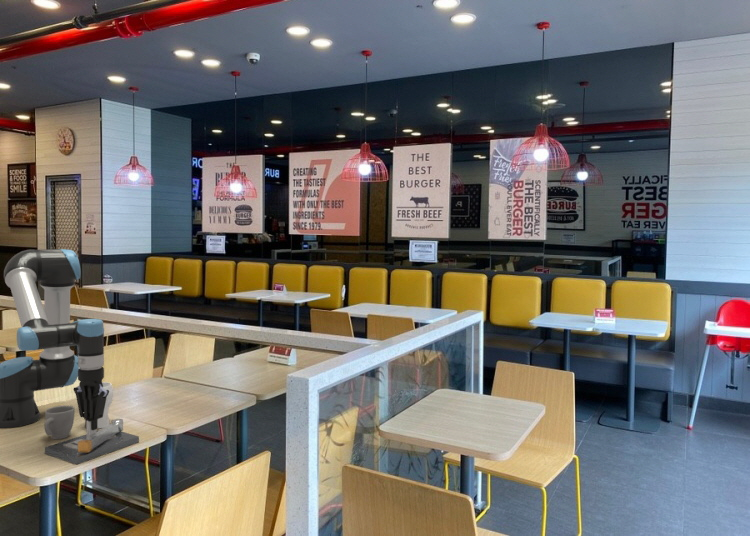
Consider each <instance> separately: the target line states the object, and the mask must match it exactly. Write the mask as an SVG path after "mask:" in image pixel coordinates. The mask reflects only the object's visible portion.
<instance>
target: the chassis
mask: <svg viewBox="0 0 750 536" xmlns="http://www.w3.org/2000/svg"><path fill="white" fill-rule="evenodd" d="M100 430H101V429H97V430H96V432H98V431H100ZM86 438H87V433H85V434H83V435H82V434H81V435H80V436H77V437H73V438H70V439H66V440H63V441H60V442H58V443H53V444H52V445H48V446H45V447H44V454H45V455H48V456H51V457H53V458H56V459H59V460H61V461H64V462H68V463H72V464H73V465H79V464H81V463H85V462H87V461H90V460H93V459H96V458H98V457H97V456H99V457H101V456H100V455H102V456H104V455H103V454H105V455H107V454H110V453H112V451H113V452H115V450H116V451H118V449H119V450H121V449H124V448H127V447H129V446H132V445H135V444H138V443H140V436H139V435H135V434H133V433H129V432H125V431H121V432H118V433H116V434H115V435H113V436H112V437H110V438H109V439H107V440H106V441H104V442H102V443H101V444H99V445H98V446H96V447H95V448H93V449H92V450H91V451H90V452H88V453H83V452H78V442H79V441H81V440H85V439H86ZM109 452H110V453H109ZM106 453H107V454H106ZM95 457H96V458H95ZM92 458H93V459H92Z"/></svg>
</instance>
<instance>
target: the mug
mask: <svg viewBox="0 0 750 536" xmlns="http://www.w3.org/2000/svg"><path fill="white" fill-rule="evenodd" d="M44 418H45V421H44V426H43V429H44V432H45V435H46V436H50V437H51V440H62V439H66V438H69V436H70V434H71V430H72V429H73V427H74V426H73V425H74V422H75V407H74V406H72V405H59V406H58V405H57V406H52V407H49V408H47V409H46V410H45V412H44Z"/></svg>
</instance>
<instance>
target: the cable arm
mask: <svg viewBox="0 0 750 536" xmlns="http://www.w3.org/2000/svg"><path fill="white" fill-rule="evenodd" d="M99 430H100V431H98V430H97V431H98V432H96V433H95V434H93V435H91V436H90V437H88V438H86V439H85V440H81V441H79V442H78V452H83V453H88V452H90V451H91V450H92V449H93V448H95V447H96V446H98V445H99V444H101V443H102V442H104V441H106V440H107V439H109V438H110V437H112V436H113V435H115V434H116V433H118V432H121V431H122V432H124V431H123V430H124V419H123V418H114V419H112V420H111V423H110V425H108V426H106V427H104V428H100V429H99Z"/></svg>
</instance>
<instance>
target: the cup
mask: <svg viewBox="0 0 750 536" xmlns="http://www.w3.org/2000/svg"><path fill="white" fill-rule="evenodd" d="M102 384H103V388H104V389H105V390H109V394H108V395H107V398H106V403H105V408H104V413H103V417H102V418H99V419H98V420H97V429H96V430H100V429H103V428H105V427H106V426H108V425H110V424H111V423H110V418H109V411H110V406H111V404H112V403H113V398H114V387H113V384H112V383H111V382H108V381H102Z"/></svg>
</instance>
